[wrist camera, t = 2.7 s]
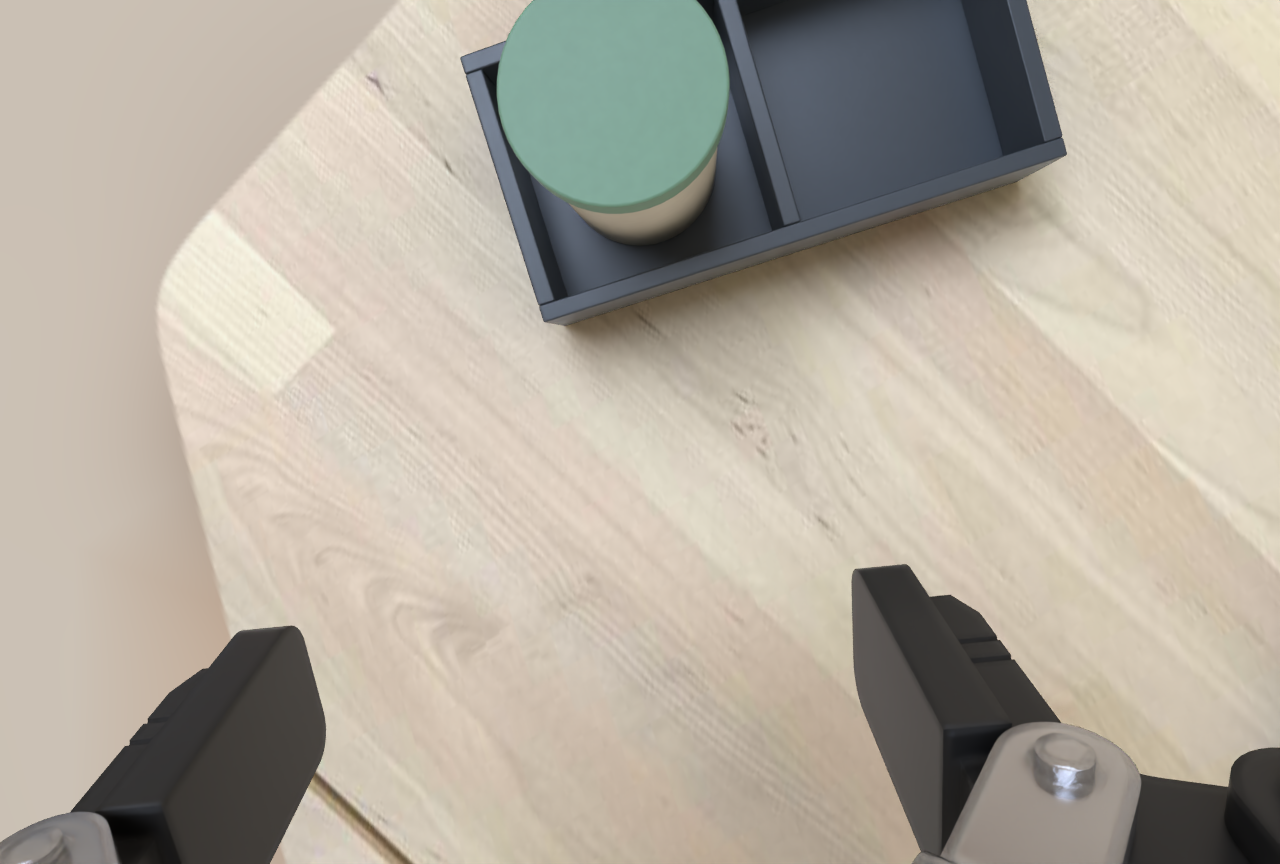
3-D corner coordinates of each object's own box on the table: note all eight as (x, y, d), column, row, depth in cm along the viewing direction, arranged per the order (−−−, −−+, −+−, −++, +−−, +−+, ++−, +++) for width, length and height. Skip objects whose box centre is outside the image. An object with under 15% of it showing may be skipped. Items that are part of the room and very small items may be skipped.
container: (587, 272, 32) (536, 237, 22) (539, 116, 32) (465, 10, 22) (740, 222, 32) (758, 164, 22) (693, 63, 31) (690, -71, 21)
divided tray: (1018, 181, 31) (1068, 154, 27) (564, 326, 33) (543, 322, 29) (951, -67, 31) (991, -134, 27) (491, 94, 33) (459, 56, 28)
